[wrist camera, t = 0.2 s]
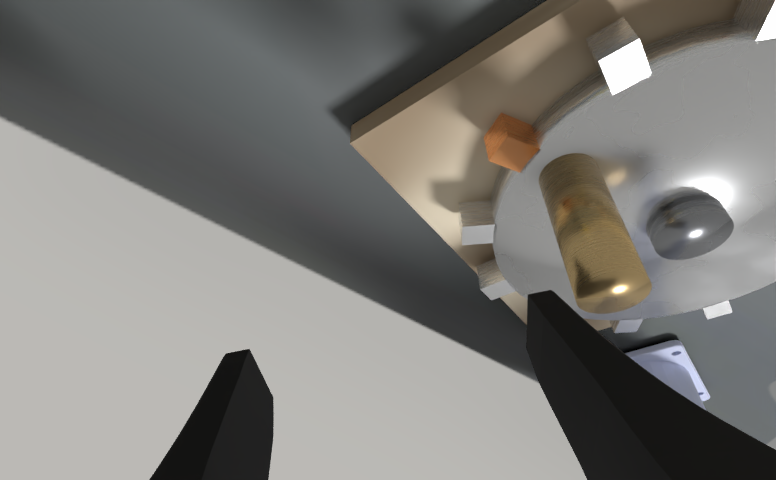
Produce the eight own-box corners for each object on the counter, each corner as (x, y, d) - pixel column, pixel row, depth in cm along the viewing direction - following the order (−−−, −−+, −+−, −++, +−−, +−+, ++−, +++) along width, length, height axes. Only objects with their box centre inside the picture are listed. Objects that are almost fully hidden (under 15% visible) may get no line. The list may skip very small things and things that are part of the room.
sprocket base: (910, 211, 20) (934, 235, 19) (543, 330, 27) (548, 351, 26) (976, -275, 9) (1034, -271, 9) (351, 125, 17) (349, 149, 16)
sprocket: (1057, 102, 14) (1294, 244, 11) (658, 336, 25) (707, 450, 21) (698, -161, 10) (894, -71, 6) (392, 263, 20) (394, 393, 16)
